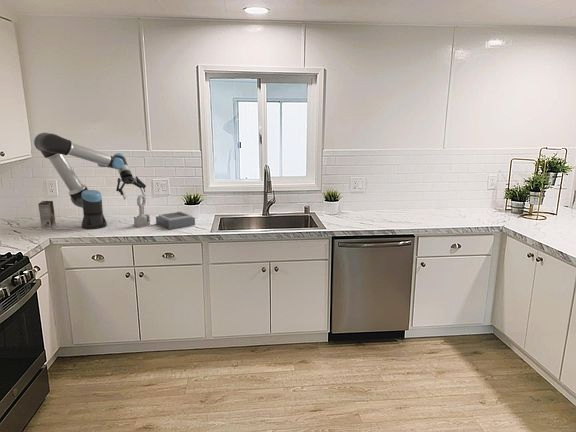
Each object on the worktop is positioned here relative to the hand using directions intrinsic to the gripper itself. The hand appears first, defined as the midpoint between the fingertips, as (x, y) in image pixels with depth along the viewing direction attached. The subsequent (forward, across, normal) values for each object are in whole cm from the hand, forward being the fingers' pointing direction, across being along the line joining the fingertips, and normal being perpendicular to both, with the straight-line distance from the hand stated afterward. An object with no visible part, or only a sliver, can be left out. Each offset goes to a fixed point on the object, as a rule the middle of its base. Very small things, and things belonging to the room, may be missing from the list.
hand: (135, 197), depth 291 cm
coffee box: (-5, +49, -30) cm, 58 cm away
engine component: (+20, 0, -5) cm, 20 cm away
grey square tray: (+28, -18, +4) cm, 33 cm away
